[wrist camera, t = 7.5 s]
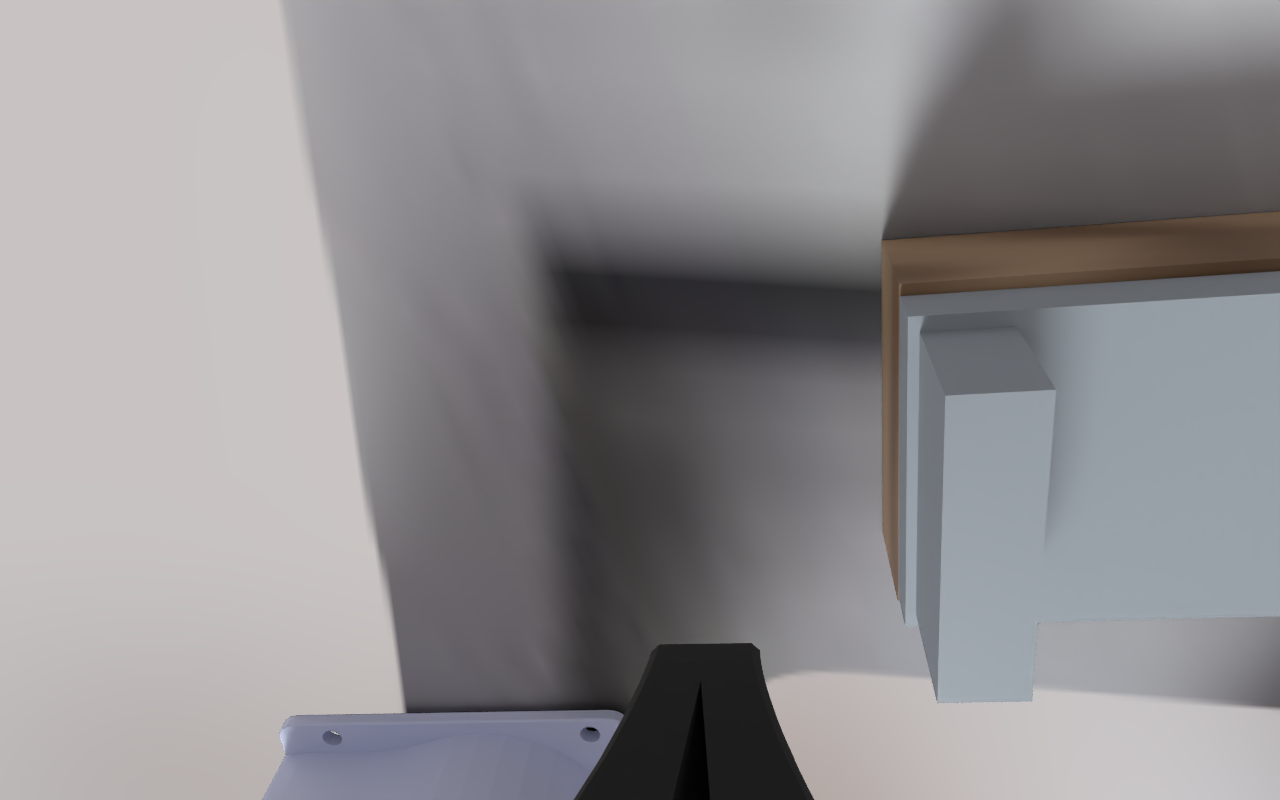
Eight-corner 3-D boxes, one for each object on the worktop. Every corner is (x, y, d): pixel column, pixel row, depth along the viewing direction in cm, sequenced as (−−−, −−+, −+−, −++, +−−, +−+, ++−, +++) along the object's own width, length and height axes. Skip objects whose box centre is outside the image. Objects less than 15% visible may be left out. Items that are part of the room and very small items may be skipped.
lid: (898, 595, 21) (924, 715, 18) (900, 296, 18) (932, 378, 15) (1422, 579, 20) (1548, 706, 17) (1510, 255, 17) (1681, 336, 14)
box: (882, 531, 24) (897, 600, 21) (881, 240, 21) (898, 284, 18) (1347, 513, 23) (1417, 584, 20) (1417, 201, 20) (1509, 242, 17)
